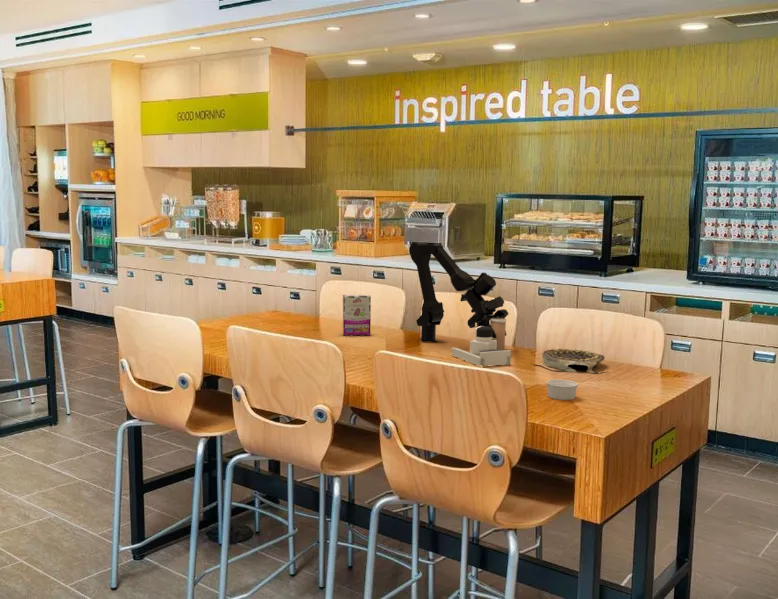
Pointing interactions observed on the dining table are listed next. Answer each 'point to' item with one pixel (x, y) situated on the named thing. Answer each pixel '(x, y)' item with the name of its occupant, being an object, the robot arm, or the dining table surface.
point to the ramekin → (561, 389)
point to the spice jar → (499, 331)
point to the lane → (484, 356)
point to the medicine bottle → (482, 340)
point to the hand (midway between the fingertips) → (500, 336)
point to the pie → (571, 359)
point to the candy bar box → (356, 314)
